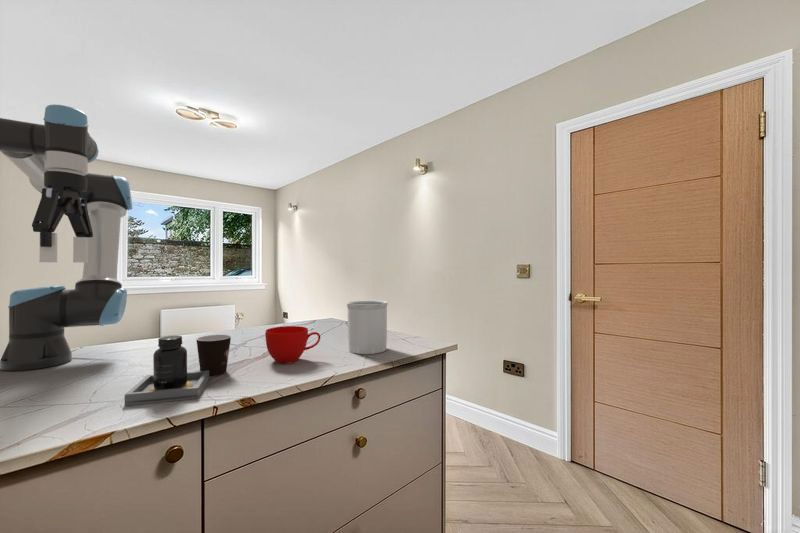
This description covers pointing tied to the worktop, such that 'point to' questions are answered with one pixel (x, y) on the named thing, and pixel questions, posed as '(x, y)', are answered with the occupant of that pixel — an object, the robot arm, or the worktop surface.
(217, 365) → the coffee mug
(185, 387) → the tray
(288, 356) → the ceramic cup
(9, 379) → the worktop surface
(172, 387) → the supplement bottle
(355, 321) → the utensil holder
